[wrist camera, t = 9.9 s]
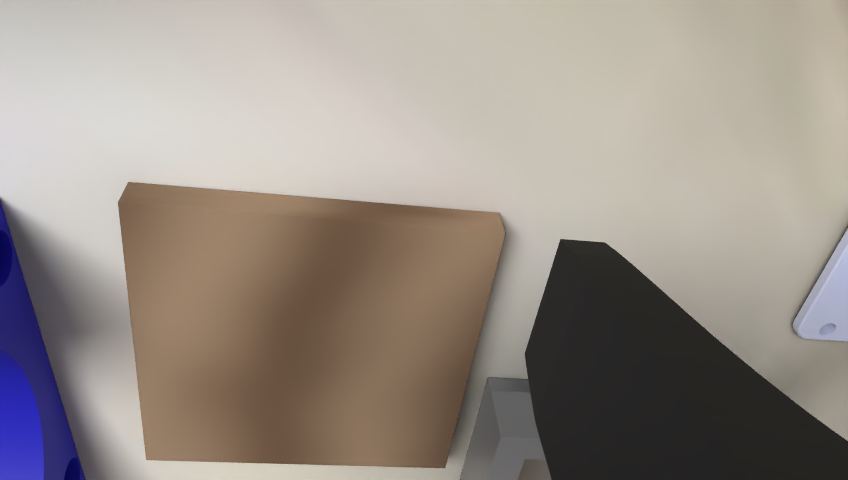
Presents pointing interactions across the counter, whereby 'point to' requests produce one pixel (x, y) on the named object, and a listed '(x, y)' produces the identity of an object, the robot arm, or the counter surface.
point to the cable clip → (28, 386)
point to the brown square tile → (302, 324)
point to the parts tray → (505, 436)
